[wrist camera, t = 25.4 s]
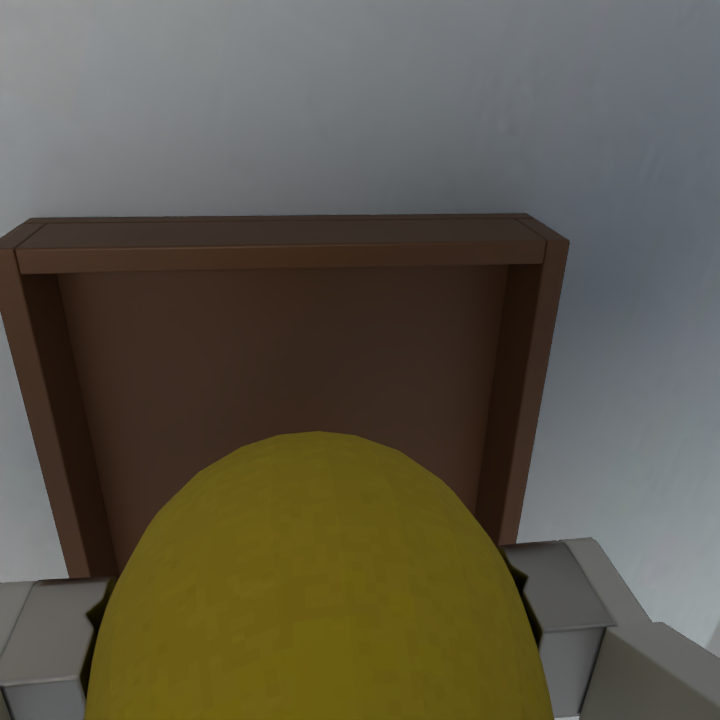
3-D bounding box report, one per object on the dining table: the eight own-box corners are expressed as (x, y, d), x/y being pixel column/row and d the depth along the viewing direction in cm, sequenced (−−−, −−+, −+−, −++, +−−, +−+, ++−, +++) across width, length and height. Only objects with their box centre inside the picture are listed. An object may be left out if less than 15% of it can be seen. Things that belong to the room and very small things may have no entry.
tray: (527, 212, 17) (571, 240, 15) (466, 636, 25) (488, 701, 22) (29, 217, 15) (-18, 248, 13) (128, 671, 23) (112, 745, 21)
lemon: (343, 615, 13) (432, 1254, 6) (96, 525, 11) (-182, 1313, 4) (503, 428, 12) (871, 1015, 5) (245, 284, 10) (196, 932, 3)
